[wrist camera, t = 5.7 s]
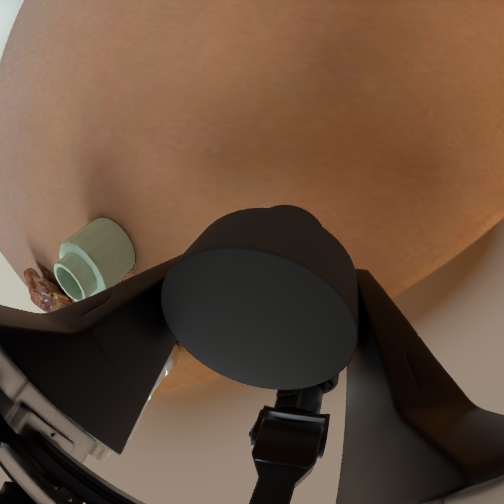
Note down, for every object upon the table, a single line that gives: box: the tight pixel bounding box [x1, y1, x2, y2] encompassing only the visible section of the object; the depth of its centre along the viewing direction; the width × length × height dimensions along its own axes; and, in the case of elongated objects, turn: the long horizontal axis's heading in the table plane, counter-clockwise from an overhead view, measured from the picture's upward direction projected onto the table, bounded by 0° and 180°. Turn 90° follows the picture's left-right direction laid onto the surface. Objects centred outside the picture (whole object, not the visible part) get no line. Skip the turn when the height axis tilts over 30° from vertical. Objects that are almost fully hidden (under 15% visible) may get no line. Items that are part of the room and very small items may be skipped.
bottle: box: [54, 218, 135, 302], centre depth 25 cm, size 7×7×8 cm
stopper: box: [161, 205, 359, 390], centre depth 9 cm, size 5×5×5 cm
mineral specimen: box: [24, 268, 71, 313], centre depth 38 cm, size 12×8×7 cm
